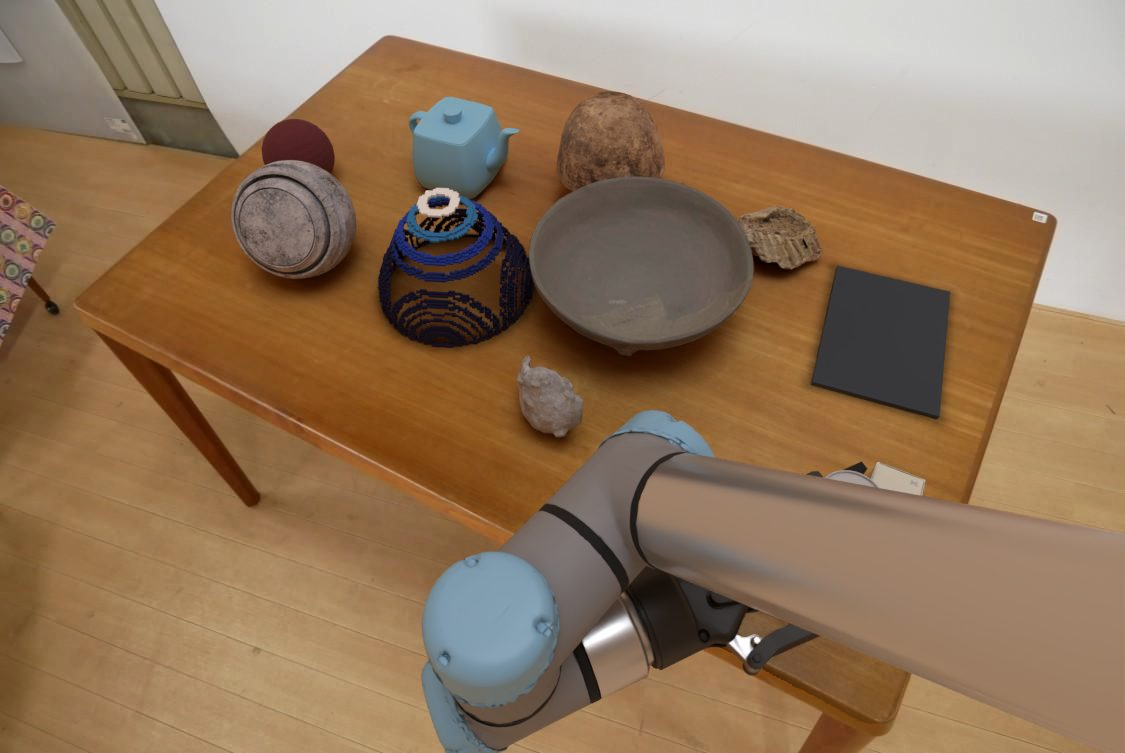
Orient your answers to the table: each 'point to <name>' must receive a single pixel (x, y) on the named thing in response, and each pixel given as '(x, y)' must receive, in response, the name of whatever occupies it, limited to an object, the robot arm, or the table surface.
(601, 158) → the brown rounded lump
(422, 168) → the teapot
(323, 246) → the decorative orb
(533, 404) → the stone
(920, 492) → the cosmetic box
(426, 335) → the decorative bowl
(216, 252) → the table surface
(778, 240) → the seashell
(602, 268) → the bowl
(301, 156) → the decorative ball
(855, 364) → the slate mat
